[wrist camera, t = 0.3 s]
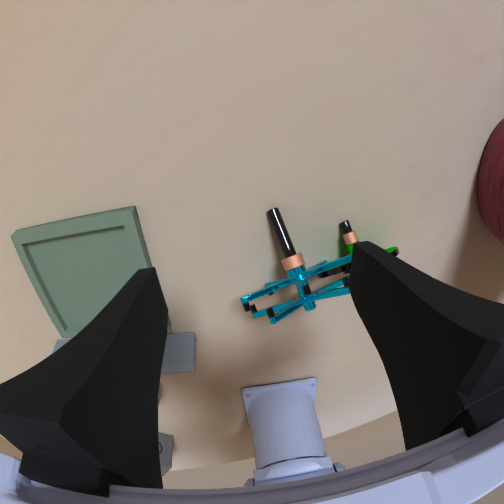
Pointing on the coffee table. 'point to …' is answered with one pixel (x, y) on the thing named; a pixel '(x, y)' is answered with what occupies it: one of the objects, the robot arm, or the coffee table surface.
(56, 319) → the green tray
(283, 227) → the stick construction toy
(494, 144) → the canister
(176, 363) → the low wall
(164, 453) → the dice cube
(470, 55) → the coffee table surface
